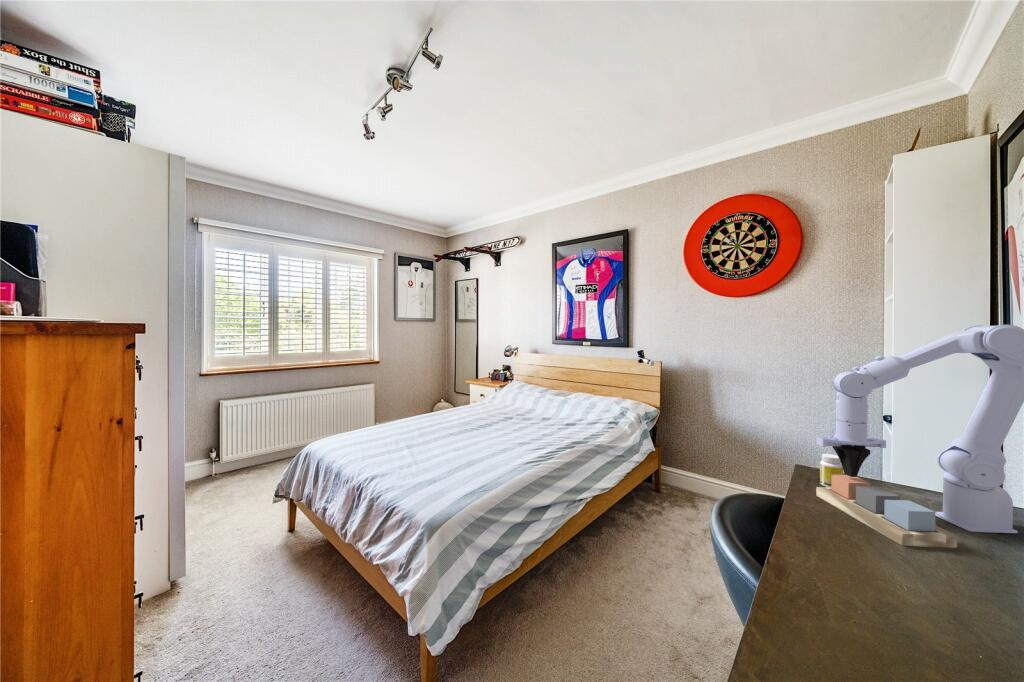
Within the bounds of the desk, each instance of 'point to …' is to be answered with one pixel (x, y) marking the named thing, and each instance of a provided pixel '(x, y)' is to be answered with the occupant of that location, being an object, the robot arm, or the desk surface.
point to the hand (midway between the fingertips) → (850, 475)
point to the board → (888, 523)
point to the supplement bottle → (829, 468)
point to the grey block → (874, 498)
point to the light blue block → (909, 515)
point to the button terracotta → (847, 485)
